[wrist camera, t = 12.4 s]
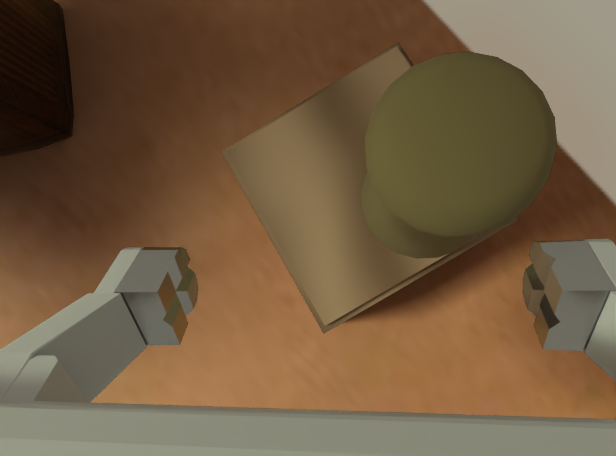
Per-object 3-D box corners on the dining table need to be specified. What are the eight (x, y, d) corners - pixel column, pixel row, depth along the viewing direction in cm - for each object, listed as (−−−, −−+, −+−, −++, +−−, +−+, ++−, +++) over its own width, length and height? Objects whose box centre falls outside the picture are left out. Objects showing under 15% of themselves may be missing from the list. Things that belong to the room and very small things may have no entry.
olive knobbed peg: (492, 141, 22) (605, 17, 11) (482, 265, 22) (588, 261, 11) (367, 132, 23) (359, 10, 12) (354, 251, 23) (334, 235, 12)
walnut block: (333, 324, 28) (322, 334, 22) (249, 176, 30) (218, 149, 24) (490, 232, 28) (522, 218, 22) (393, 87, 29) (398, 38, 24)
